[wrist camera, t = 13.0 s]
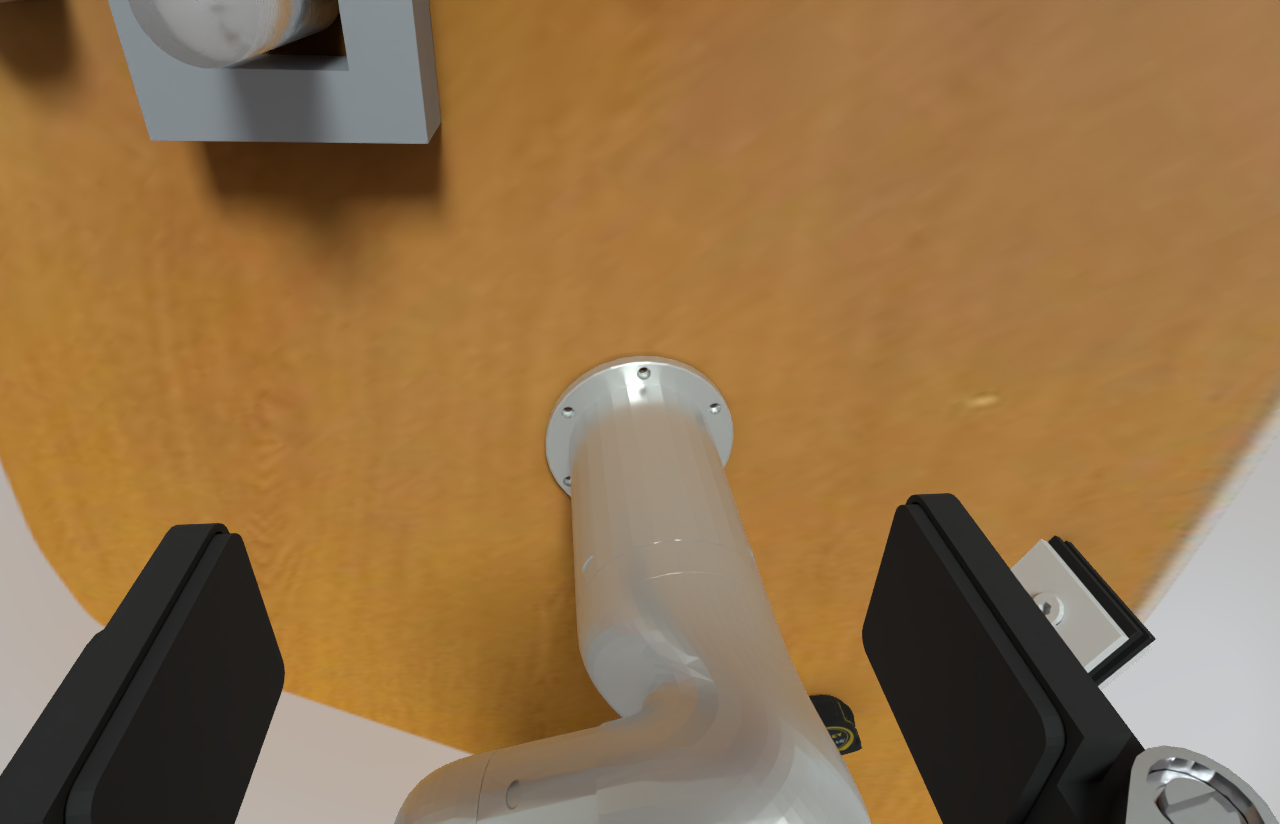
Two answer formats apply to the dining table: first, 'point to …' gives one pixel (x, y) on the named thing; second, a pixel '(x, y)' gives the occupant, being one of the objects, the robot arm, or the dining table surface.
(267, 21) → the steel pin
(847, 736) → the tape measure
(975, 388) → the dining table surface
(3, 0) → the walnut pin
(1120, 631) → the hinge
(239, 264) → the dining table surface
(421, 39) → the hole block
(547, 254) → the dining table surface
